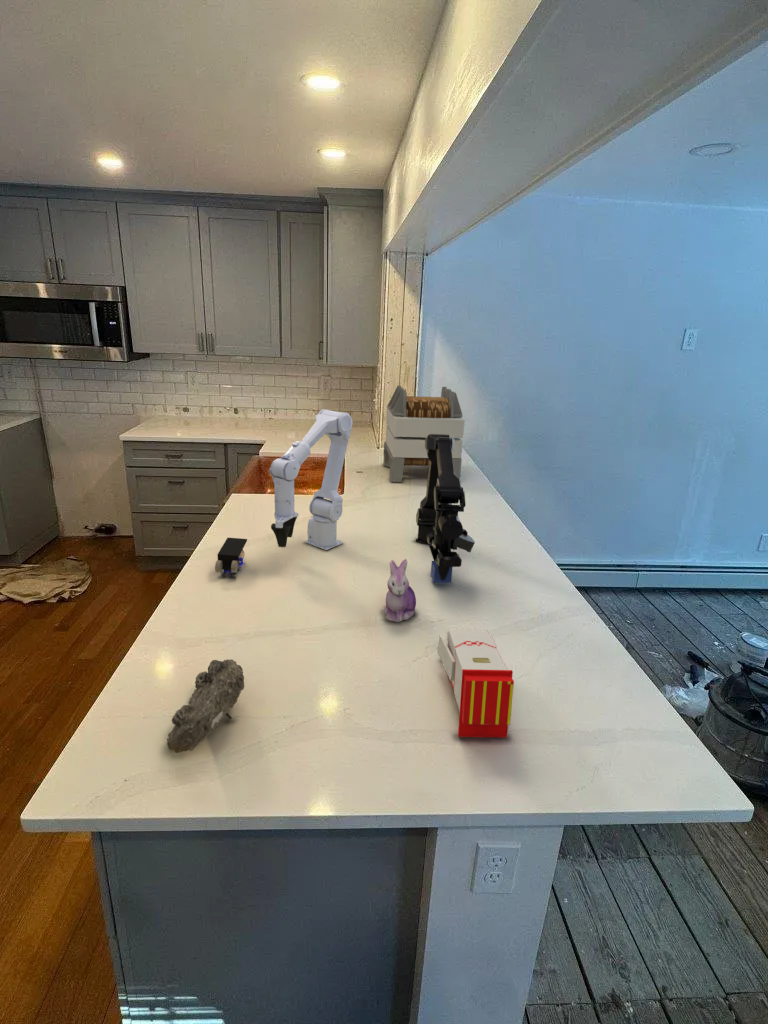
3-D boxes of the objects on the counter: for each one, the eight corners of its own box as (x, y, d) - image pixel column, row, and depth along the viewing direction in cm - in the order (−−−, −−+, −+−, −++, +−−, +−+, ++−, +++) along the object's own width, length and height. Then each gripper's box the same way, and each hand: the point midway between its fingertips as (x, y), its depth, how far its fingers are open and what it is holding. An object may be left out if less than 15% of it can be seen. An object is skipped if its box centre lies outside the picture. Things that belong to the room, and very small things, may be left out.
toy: (488, 613, 130) (523, 677, 101) (484, 667, 133) (517, 744, 104) (435, 612, 130) (455, 676, 101) (432, 666, 133) (451, 743, 103)
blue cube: (451, 583, 163) (452, 567, 161) (433, 583, 162) (434, 567, 160) (447, 575, 167) (449, 560, 165) (430, 576, 166) (431, 560, 165)
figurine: (392, 627, 141) (395, 572, 136) (374, 608, 149) (376, 556, 144) (425, 619, 145) (429, 566, 140) (405, 601, 154) (408, 550, 149)
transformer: (382, 463, 289) (386, 382, 275) (445, 464, 293) (451, 384, 279) (390, 482, 257) (394, 392, 243) (460, 483, 261) (468, 394, 247)
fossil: (192, 660, 117) (244, 628, 112) (224, 691, 120) (276, 661, 115) (142, 746, 98) (202, 712, 93) (182, 779, 101) (242, 748, 96)
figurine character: (238, 584, 162) (249, 557, 175) (236, 562, 158) (247, 536, 172) (215, 584, 161) (227, 556, 175) (212, 561, 158) (225, 535, 171)
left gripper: (292, 508, 160) (292, 552, 164) (303, 492, 173) (303, 533, 178) (267, 506, 160) (268, 550, 165) (280, 491, 174) (281, 532, 178)
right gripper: (482, 538, 151) (476, 590, 156) (465, 514, 168) (460, 561, 174) (441, 538, 150) (437, 591, 155) (428, 514, 167) (424, 562, 172)
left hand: (285, 541), depth 171 cm, fingers open, 7 cm apart
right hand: (441, 575), depth 164 cm, fingers closed on blue cube, 4 cm apart
